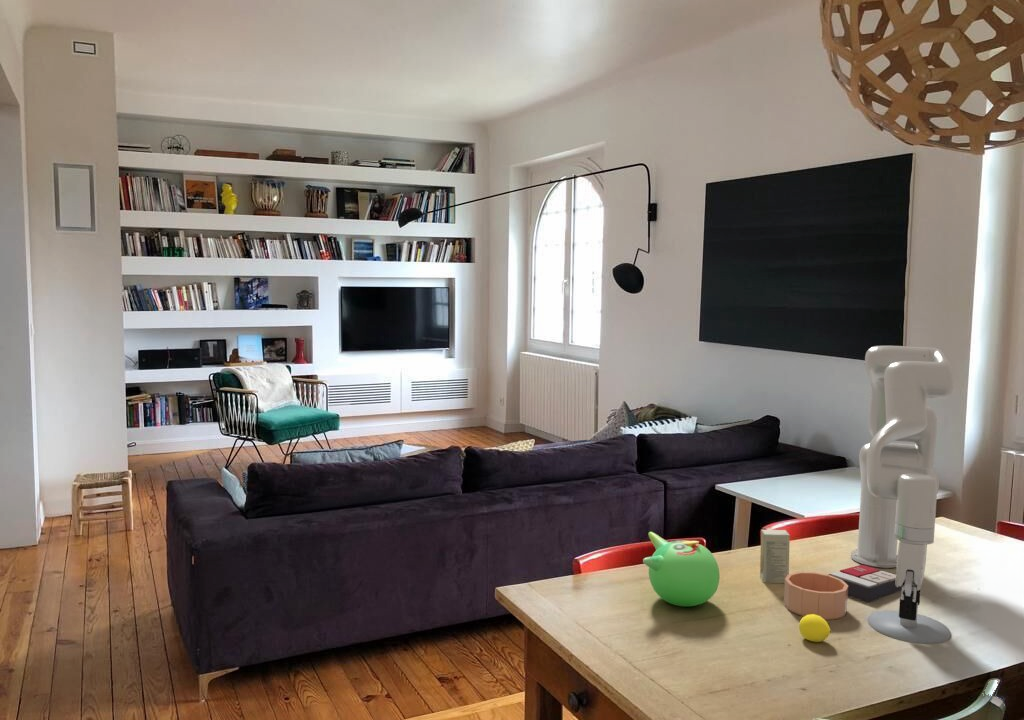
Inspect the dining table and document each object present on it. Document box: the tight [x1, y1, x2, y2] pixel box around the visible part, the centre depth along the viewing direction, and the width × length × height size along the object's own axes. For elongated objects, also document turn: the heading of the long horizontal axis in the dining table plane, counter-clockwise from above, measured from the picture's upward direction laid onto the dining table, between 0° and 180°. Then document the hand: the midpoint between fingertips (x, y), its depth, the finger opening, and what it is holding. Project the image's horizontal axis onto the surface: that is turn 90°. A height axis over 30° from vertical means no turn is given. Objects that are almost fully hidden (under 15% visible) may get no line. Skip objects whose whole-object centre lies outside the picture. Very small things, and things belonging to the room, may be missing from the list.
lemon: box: [798, 614, 832, 643], centre depth 169 cm, size 7×5×5 cm
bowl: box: [783, 571, 849, 621], centre depth 186 cm, size 13×13×6 cm
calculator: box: [827, 564, 902, 604], centre depth 199 cm, size 11×4×15 cm
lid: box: [866, 603, 951, 644], centre depth 176 cm, size 16×16×6 cm
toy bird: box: [642, 531, 721, 608], centre depth 188 cm, size 18×17×15 cm
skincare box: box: [759, 529, 791, 584], centre depth 203 cm, size 6×4×12 cm
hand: (909, 611), depth 176 cm, fingers open, 9 cm apart
